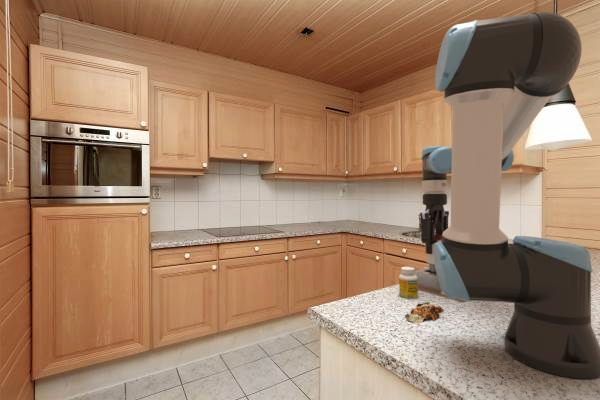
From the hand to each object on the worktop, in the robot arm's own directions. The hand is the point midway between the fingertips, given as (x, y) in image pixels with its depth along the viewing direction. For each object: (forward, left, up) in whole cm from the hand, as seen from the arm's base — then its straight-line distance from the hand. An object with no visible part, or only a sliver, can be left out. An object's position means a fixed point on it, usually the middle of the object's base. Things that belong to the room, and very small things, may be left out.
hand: (435, 262), depth 103 cm
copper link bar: (0, 0, -8) cm, 8 cm away
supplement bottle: (-15, 0, -9) cm, 18 cm away
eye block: (0, 0, -8) cm, 8 cm away
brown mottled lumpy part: (-23, -11, -10) cm, 27 cm away
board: (0, -4, -9) cm, 10 cm away
